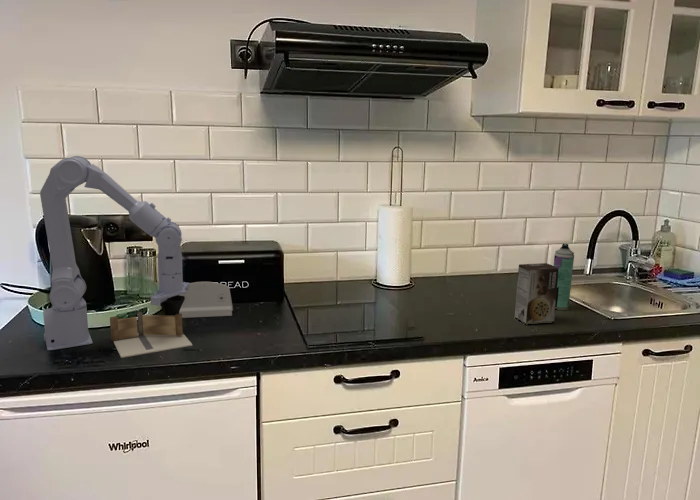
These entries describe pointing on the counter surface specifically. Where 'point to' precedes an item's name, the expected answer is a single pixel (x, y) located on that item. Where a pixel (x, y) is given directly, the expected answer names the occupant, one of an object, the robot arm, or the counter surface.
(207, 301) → the hinge
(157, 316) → the panel
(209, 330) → the counter surface
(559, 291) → the spray can
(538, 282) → the coffee box
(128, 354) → the card
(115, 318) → the fence fixed
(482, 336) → the counter surface
